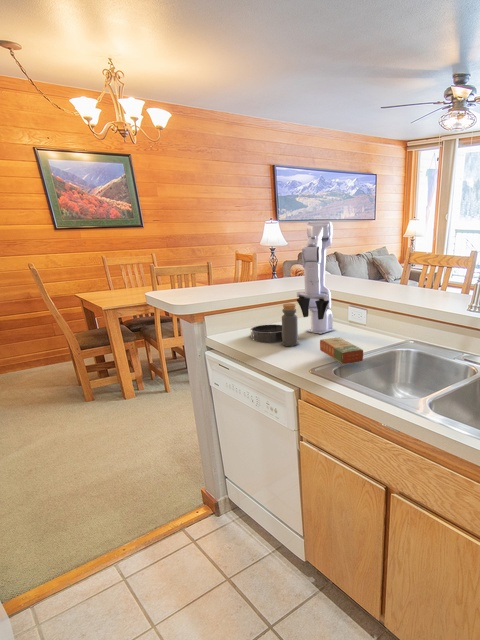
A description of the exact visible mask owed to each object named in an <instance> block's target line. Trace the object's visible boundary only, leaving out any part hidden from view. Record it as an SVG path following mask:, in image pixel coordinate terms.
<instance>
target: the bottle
mask: <svg viewBox="0 0 480 640" xmlns="http://www.w3.org/2000/svg"><path fill="white" fill-rule="evenodd" d="M282 307H283V309H282V313H283V314H282V316H281V325H282V340H283V341H282V345H283V346H285V347H294V346H295V347H296V346H297V345H298V344H299V329H298V328H299V326H298V316H297V315H296V313H297V309H296V304H295V303H291V302H289V303H287V302H286V303H283V304H282Z"/></svg>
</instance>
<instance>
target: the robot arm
mask: <svg viewBox="0 0 480 640" xmlns="http://www.w3.org/2000/svg"><path fill="white" fill-rule="evenodd" d="M306 235H307V240H306V244H305V246H304V248H302V249H301V261H302V268H303V272H304V273H303V274H304V275H303V278H304V279H303V280H304V291H297V292H296V302H297V304H298V305H299V307H300V311H301V313H302V317H303V318H308V317H309V315H310V328H309V329H306V332H309V333H314V334H320V335H321V334H325V333H328V332H332V331H335V328H334V323H333V321H334V320H333V319H334V316H333V313H332V311H331V310H330V309H331V307H332V294H331V291H330V289H329V288H328V287H326V285H325V284H326V256H327V250H328V248H329V247H330V246H332V242H333V223H332V222H331V221H308V222H307V223H306ZM309 313H310V314H309Z"/></svg>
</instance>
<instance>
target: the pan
mask: <svg viewBox="0 0 480 640" xmlns="http://www.w3.org/2000/svg"><path fill="white" fill-rule="evenodd" d="M250 338H251V340H253V341H255V342H258V343H266V344H267V343H269V344H270V343H272V344H273V343H281V342H283V340H282V324H260V325H256V326H253V327H251V328H250Z"/></svg>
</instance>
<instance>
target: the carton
mask: <svg viewBox="0 0 480 640" xmlns="http://www.w3.org/2000/svg"><path fill="white" fill-rule="evenodd" d="M319 351H320V352H322V353H323V354H325V355H327V356H329V357H330V358H332V359H333V360H334V361H336V362H338V363H339V364H341V365H346V364H352V363H353V364H354V363H359V362H363V360H364V349H362V348H361V347H358V346H357V345H354V344H353V343H351V342H349V341H347V340H345V339H343V338H341V336H340V337H330V338H323V339H320V340H319Z"/></svg>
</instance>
